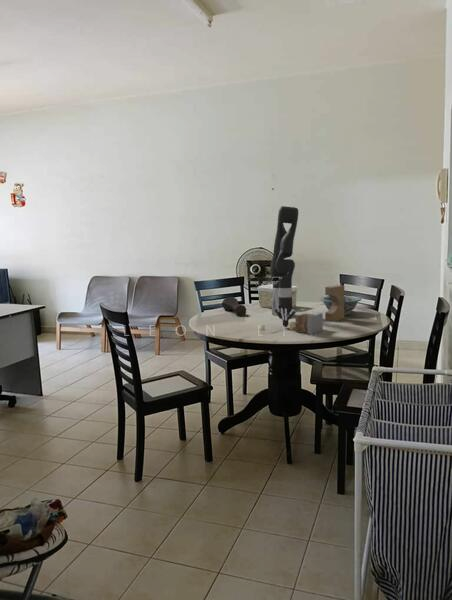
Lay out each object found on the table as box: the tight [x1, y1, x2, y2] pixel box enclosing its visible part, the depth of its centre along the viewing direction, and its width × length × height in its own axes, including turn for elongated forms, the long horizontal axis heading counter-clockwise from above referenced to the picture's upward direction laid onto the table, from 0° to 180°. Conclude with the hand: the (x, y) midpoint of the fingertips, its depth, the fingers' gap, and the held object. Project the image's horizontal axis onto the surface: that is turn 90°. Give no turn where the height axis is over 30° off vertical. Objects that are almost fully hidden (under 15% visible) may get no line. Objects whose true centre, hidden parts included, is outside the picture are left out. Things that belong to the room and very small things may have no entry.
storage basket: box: [257, 283, 298, 309], centre depth 333 cm, size 24×16×15 cm
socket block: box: [294, 312, 315, 333], centre depth 257 cm, size 8×10×8 cm
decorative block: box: [324, 284, 345, 322], centre depth 282 cm, size 11×6×20 cm, turn 124°
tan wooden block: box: [289, 321, 297, 332], centre depth 259 cm, size 10×4×4 cm, turn 53°
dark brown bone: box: [221, 296, 247, 317], centre depth 317 cm, size 11×10×28 cm
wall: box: [306, 312, 324, 335], centre depth 254 cm, size 2×14×9 cm, turn 144°
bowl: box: [320, 295, 362, 316], centre depth 302 cm, size 25×25×10 cm
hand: (285, 326), depth 266 cm, fingers closed
